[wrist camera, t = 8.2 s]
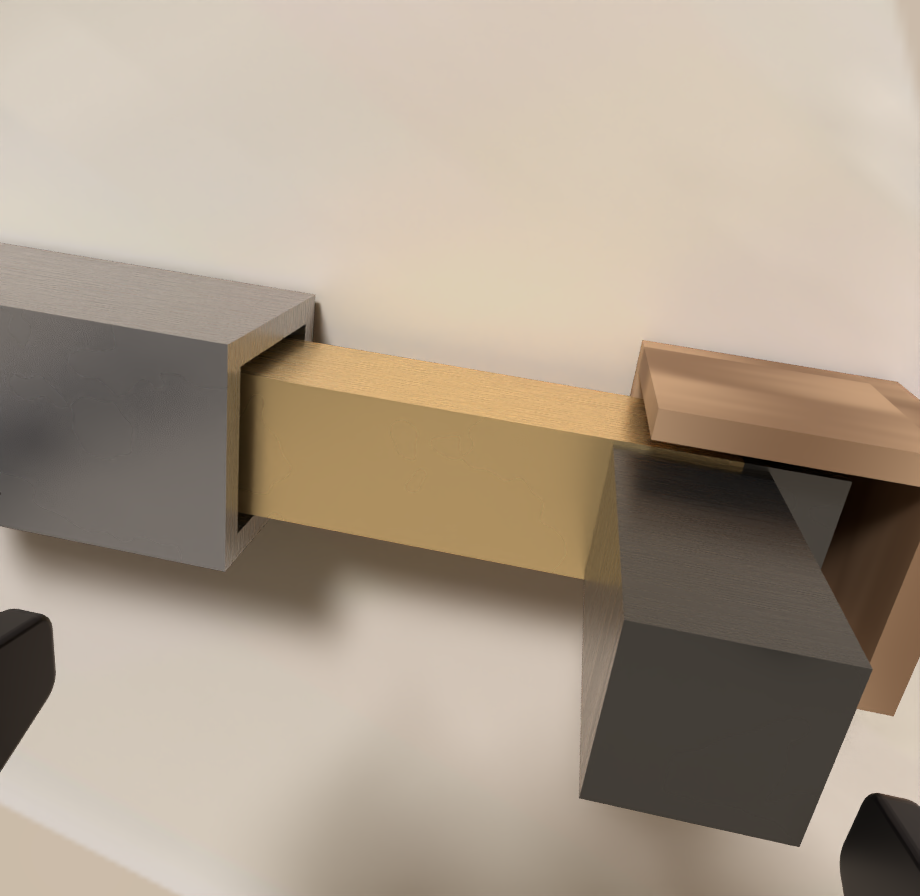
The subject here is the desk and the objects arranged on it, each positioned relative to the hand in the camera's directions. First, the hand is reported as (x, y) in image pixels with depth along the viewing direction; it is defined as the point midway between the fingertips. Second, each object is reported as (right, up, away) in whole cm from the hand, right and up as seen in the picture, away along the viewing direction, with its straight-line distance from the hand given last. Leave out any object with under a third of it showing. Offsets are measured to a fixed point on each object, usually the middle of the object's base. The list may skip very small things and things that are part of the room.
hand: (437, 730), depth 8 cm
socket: (+7, +3, +11) cm, 13 cm away
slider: (+1, +3, +10) cm, 11 cm away
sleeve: (-9, +5, +12) cm, 16 cm away
